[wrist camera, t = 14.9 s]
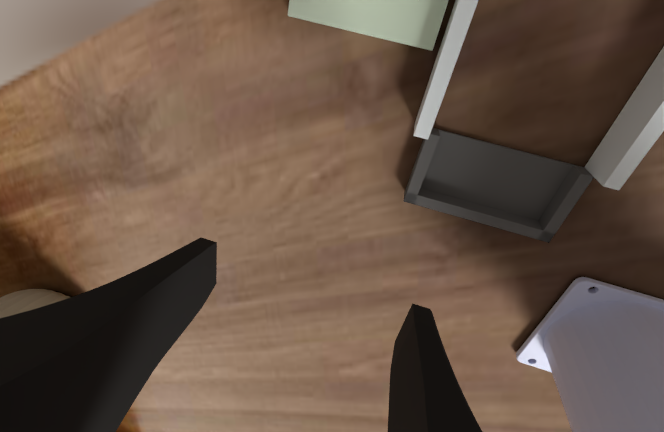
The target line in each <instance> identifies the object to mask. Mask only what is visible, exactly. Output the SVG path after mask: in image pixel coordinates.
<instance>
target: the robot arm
mask: <svg viewBox="0 0 664 432" xmlns="http://www.w3.org/2000/svg"><path fill="white" fill-rule="evenodd" d="M216 252H217V242H213V241H210V240H207V239H204V238H199V239H197V240H195V241H193V242H191V243H190V244H188V245H186V246H184V247H182V248H180V249H178V250H176V251H174V252H173V253H171V254H169V255H167V256H165V257H163V258H161V259H159V260H157V261H155V262H153V263H151V264H149V265H147V266H145V267H143V268H141V269H139V270H137V271H135V272H132V273H130V274H128V275H126V276H124V277H121V278H119V279H117V280H115V281H113V282H110V283H108V284H105V285H103V286H100V287H98V288H95V289H93V290H90V291H87V292H85V293H82V294H79V295H77V296H74V297H71V298H68V299H65V300H62V301H58V302H55V303H52V304H49V305H46V306H43V307H40V308H36V309H33V310H29V311H26V312H22V313H18V314H15V315H11V316H7V317H3V318H0V432H116V430H117V428H118V427H119V425H120V423H121V422H122V420H123V418H124V417H125V415H126V413H127V412H128V410H129V409H130V407H131V405H132V404H133V402H134V400H135V399H136V397H137V396H138V394H139V392H140V391H141V389H142V388H143V386H144V385H145V383H146V381H147V380H148V378H149V377H150V375H151V374H152V372H153V371H154V369H155V368H156V366H157V365H158V364H159V362H160V361H161V359H162V358H163V357H164V356H165V354H166V353H167V352H168V350H169V349H170V348H171V347H172V345H173V344H174V343H175V341H176V340H177V339H178V338H179V336H180V335H181V334H182V333H183V331H184V330H185V329H186V327H187V326H188V325H189V324H190V322H191V321H192V320H193V318H194V317H195V316H196V315H197V313H198V312H199V311H200V309H201V308H202V306H203V305H204V303H205V302H206V300H207V298H208V297H209V295H210V293H211V292H212V290H213V288H214V286H215V285H216ZM590 287H594V288H593V289H589V288H590ZM516 357H517V360H518V361H519V362H521V363H524V364H527V365H530V366H534V367H537V368H540V369H543V370H546V371H549V372H552V374H553V377H554V380H555V383H556V386H557V388H558V391H559V394H560V397H561V400H562V403H563V406H564V409H565V412H566V415H567V418H568V421H569V424H570V426H571V429H572V432H664V300H663V299H659V298H656V297H652V296H649V295H646V294H642V293H639V292H635V291H632V290H628V289H625V288H621V287H618V286H615V285H611V284H608V283H604V282H601V281H597V280H594V279H591V278H587V277H579V278H577V279H575V280H574V281H573V282H572V283H571V285H570V286H569V287H568V288H567V290H566V291H565V292H564V293H563V295H562V296H561V297H560V298H559V300H558V301H557V302H556V303H555V305H554V306H553V307H552V309H551V310H550V311H549V312H548V314H547V315H546V316H545V317H544V319H543V320H542V321H541V322H540V324H539V325H538V326H537V327H536V329H535V330H534V331H533V332H532V334H531V335H530V336H529V337H528V339H527V340H526V341H525V342H524V344H523V345H522V346H521V347H520V349H519V350H518V351H517V353H516ZM388 432H482V430H481V429H480V427H479V425H478V423H477V421H476V419H475V417H474V415H473V413H472V411H471V409H470V407H469V405H468V403H467V401H466V399H465V397H464V395H463V393H462V390H461V388H460V386H459V384H458V382H457V379H456V377H455V375H454V372H453V370H452V367H451V365H450V362H449V360H448V357H447V355H446V352H445V349H444V347H443V344H442V341H441V338H440V335H439V332H438V330H437V326H436V323H435V320H434V317H433V314H432V311H431V310H430V309H428V308H425V307H422V306H419V305H415V304H412V306H411V308H410V310H409V312H408V315H407V317H406V319H405V321H404V323H403V325H402V328H401V330H400V332H399V334H398V336H397V338H396V341H395V345H394V351H393V357H392V364H391V372H390V393H389V417H388Z"/></svg>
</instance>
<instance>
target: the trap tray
mask: <svg viewBox="0 0 664 432" xmlns="http://www.w3.org/2000/svg"><path fill="white" fill-rule="evenodd" d="M593 178H594V177H593V176H592V175H591V174H590V173H589V172H588V171H587V170H586V169H585V168H584V167H581V166H577V165H573V164H570V163H566V162H562V161H558V160H554V159H551V158H547V157H543V156H539V155H535V154H531V153H528V152H524V151H520V150H516V149H512V148H509V147H505V146H501V145H497V144H493V143H490V142H486V141H482V140H478V139H474V138H471V137H467V136H463V135H459V134H455V133H451V132H448V131H444V130H440V129H436V128H432V130H431V133H430V136H429V138H428V140H427V139H423V142H422V144H421V147H420V150H419V153H418V156H417V159H416V161H415V164H414V167H413V170H412V173H411V175H410V178H409V181H408V184H407V187H406V190H405V194H404V202H408V203H411V204H415V205H418V206H422V207H425V208H429V209H432V210H436V211H439V212H443V213H446V214H450V215H453V216H457V217H461V218H464V219H468V220H471V221H475V222H478V223H482V224H485V225H489V226H492V227H496V228H499V229H503V230H506V231H510V232H513V233H517V234H520V235H524V236H527V237H531V238H534V239H538V240H541V241H545V242H548V243H549V242H550V241H551V239H552V238H553V236H554V235H555V233H556V232H557V230H558V229H559V227H560V226H561V225H562V223H563V222H564V220H565V219H566V217H567V216H568V214H569V213H570V211H571V210H572V208H573V207H574V206H575V204H576V203H577V201H578V200H579V198H580V197H581V195H582V194H583V192H584V191H585V189H586V188H587V187H588V185H589V184H590V182H591V181H592V179H593Z"/></svg>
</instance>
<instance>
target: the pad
mask: <svg viewBox="0 0 664 432" xmlns="http://www.w3.org/2000/svg"><path fill="white" fill-rule="evenodd" d="M448 1H449V0H289V8H288V16H290V17H294V18H298V19H302V20H307V21H311V22H315V23H319V24H323V25H327V26H331V27H336V28H340V29H344V30H348V31H352V32H356V33H360V34H364V35H369V36H373V37H377V38H381V39H385V40H389V41H393V42H398V43H402V44H406V45H410V46H414V47H418V48H422V49H427V50H431V51H433V48H434V45H435V41H436V38H437V35H438V32H439V29H440V26H441V23H442V20H443V17H444V13H445V10H446V7H447V4H448Z"/></svg>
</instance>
